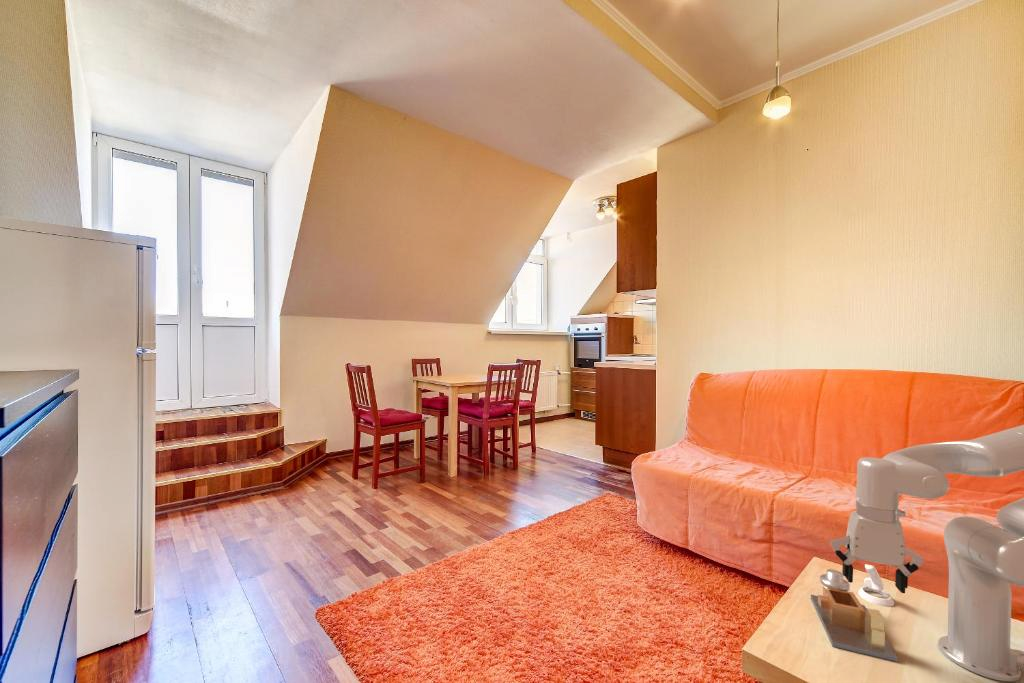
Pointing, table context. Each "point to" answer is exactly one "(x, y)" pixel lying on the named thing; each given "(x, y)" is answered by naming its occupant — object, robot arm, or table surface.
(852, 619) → the tray with wooden box
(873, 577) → the hook
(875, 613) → the pale yellow block
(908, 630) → the table surface
